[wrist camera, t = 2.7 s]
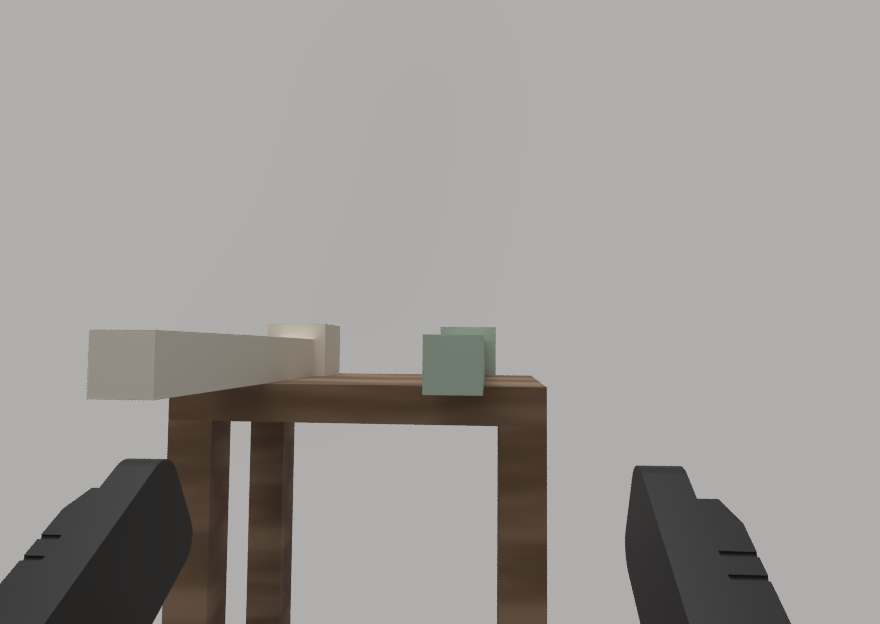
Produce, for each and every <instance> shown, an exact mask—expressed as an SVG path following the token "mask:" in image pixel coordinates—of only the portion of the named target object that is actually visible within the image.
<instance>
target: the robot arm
mask: <svg viewBox="0 0 880 624" xmlns="http://www.w3.org/2000/svg"><path fill="white" fill-rule="evenodd" d="M192 535H193V529H192V522H191V518H190V515H189V511H188V508H187V504H186V501H185V498H184V494H183V491H182V487H181V484H180V480H179V477H178V473H177V470H176V467H175V465H174V463H173V462H172V461H170V460H168V459H125V460H123V461H121V462H120V463H119V464H118V465H117V466H116V468H115V469H114V470H113V471H112V473H111V474H110V475H109V476H108V478H107V479H106V480H105V481H104V483H103V484H102V485H101V486H100V488H91V489H90V490H88V491H87V492H85V493H84V494H83V495H81V496H80V497H79V498H77V499H76V500H75V501H73V502H72V503H70V504H69V505H68V506H66V507H65V508H64V509H63V510H61V512H60V513H59V514H58V516H57V517H56V518H55V519H54V520H53V521H52V522H51V524H50V525H49V526H48V527H47V529H46V530H45V531H44V532H43V533H42V537H41V539H37V540H36V542H35V543H34V544H33V545H32V546H31V548H30V549H29V550H28V551H27V552H26V554H25V555H24V560H23V561H19V562H18V563H17V564H16V566H15V567H14V568H13V569H12V570H11V572H10V573H9V574H8V575H7V576H6V578H5V579H4V580H3V581H2V582H1V584H0V624H152V623H153V621H154V619H155V618H156V616H157V614H158V612H159V610H160V608H161V607H162V605H163V603H164V601H165V599H166V597H167V595H168V594H169V592H170V590H171V588H172V586H173V584H174V582H175V581H176V579H177V577H178V575H179V573H180V571H181V569H182V568H183V566H184V564H185V562H186V560H187V558H188V555H189V552H190V549H191V544H192ZM625 551H626V561H627V568H628V573H629V577H630V582H631V586H632V590H633V594H634V598H635V603H636V607H637V611H638V615H639V619H640V624H791V623H790V621H789V619H788V617H787V614H786V612H785V610H784V608H783V606H782V604H781V602H780V600H779V598H778V596H777V593H776V591H775V589H774V587H773V585H772V583H771V582H769V581H768V575H767V572H766V570H765V568H764V566H763V564H762V562H761V560H760V558H758V557H757V552H756V550H755V547H754V545H753V543H752V541H751V539H750V537H749V535H748V533H747V531H746V528H745V526H744V524H743V523H742V522H741V521H740V520H739V519H738V518H737V517H736V516H735V515H734V514H733V513H732V512H731V511H730V510H729V509H728V508H727V507H726V506H725V505H724V504H723V503H722V502H721V501H720V500H719V499H697V498H696V495H695V493H694V491H693V488H692V486H691V483H690V481H689V478H688V476H687V473H686V471H685V470H684V469H683V467H681V466H636V467H635V468H634V471H633V476H632V484H631V492H630V500H629V509H628V516H627V524H626V535H625Z"/></svg>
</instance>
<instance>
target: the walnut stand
mask: <svg viewBox="0 0 880 624" xmlns="http://www.w3.org/2000/svg"><path fill="white" fill-rule="evenodd" d="M546 388H547V387H545V386H544V385H543V384H541V383H540V382H539V381H537V380H536V379H535V378H533V377H532V376H503V375H502V376H501V375H495V376H485V380H484V389H483V396H462V395H422V375H420V374H418V375H417V374H415V375H414V374H411V375H410V374H337V375H330V376H312V377H306V378H299V379H292V380H286V381H279V382H272V383H265V384H259V385H252V386H245V387H239V388H232V389H225V390H219V391H212V392H205V393H199V394H192V395H185V396H179V397H172V398H169V423H168V453H167V455H168V456H167V459H168V460H170V461H172V462H173V463H174V465H175V467H176V470H177V473H178V477H179V480H180V484H181V487H182V491H183V494H184V498H185V501H186V504H187V508H188V511H189V515H190V518H191V522H192V529H193V535H192V544H191V549H190V552H189V555H188V558H187V560H186V562H185V564H184V566H183V568H182V569H181V571H180V573H179V575H178V577H177V579H176V581H175V582H174V584H173V586H172V588H171V590H170V592H169V594H168V595H167V597H166V599H165V601H164V603H163V605H162V606H163V607H162V624H225V605H226V569H227V534H228V495H229V493H228V492H229V459H230V423H231V421H251V453H250V491H249V530H248V531H249V532H248V569H247V570H248V572H247V608H246V624H290V606H291V603H290V602H291V559H292V513H293V466H294V465H293V464H294V463H293V462H294V422H309V423H362V424H415V425H417V424H418V425H468V426H471V425H472V426H473V425H474V426H498V535H497V538H498V540H497V542H498V543H497V544H498V545H497V547H498V548H497V552H498V553H497V571H498V572H497V624H547V389H546Z"/></svg>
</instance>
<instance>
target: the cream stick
mask: <svg viewBox="0 0 880 624" xmlns="http://www.w3.org/2000/svg"><path fill="white" fill-rule="evenodd" d="M267 335H268V336H251V335H233V334H216V333H197V332H180V331H161V330H89V352H88V377H87V399H102V400H159V399H165V398H172V397H179V396H185V395H192V394H199V393H205V392H212V391H219V390H225V389H232V388H239V387H245V386H252V385H259V384H265V383H272V382H279V381H286V380H292V379H299V378H306V377H312V376H330V375H337V374H339V355H340V326H334V325H327V324H268V334H267Z"/></svg>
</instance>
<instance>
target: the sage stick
mask: <svg viewBox="0 0 880 624" xmlns="http://www.w3.org/2000/svg"><path fill="white" fill-rule="evenodd" d="M485 376H495V328H494V327H491V328H490V327H441V335H423V371H422V395H462V396H483V389H484V380H485Z"/></svg>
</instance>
